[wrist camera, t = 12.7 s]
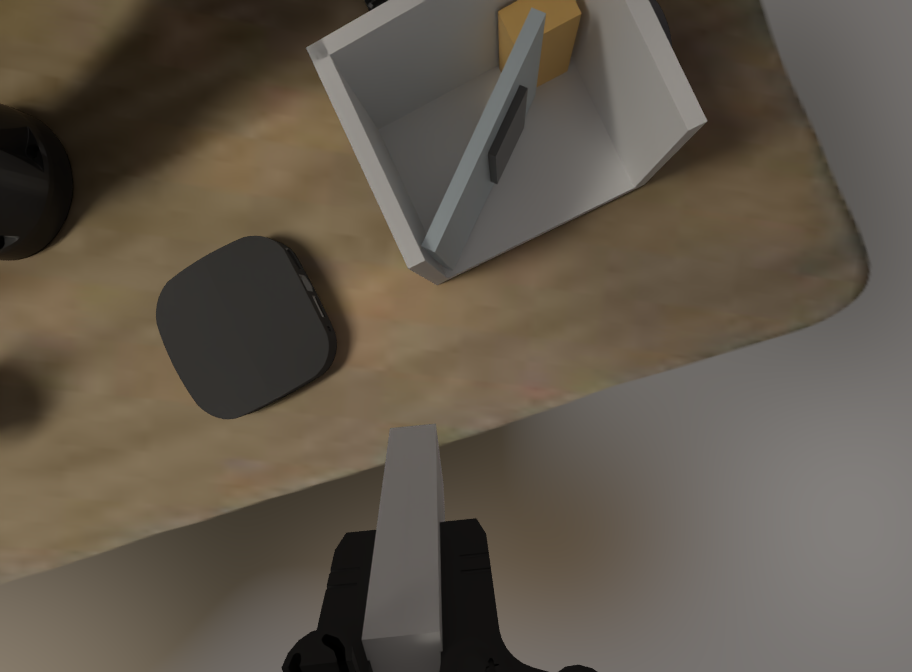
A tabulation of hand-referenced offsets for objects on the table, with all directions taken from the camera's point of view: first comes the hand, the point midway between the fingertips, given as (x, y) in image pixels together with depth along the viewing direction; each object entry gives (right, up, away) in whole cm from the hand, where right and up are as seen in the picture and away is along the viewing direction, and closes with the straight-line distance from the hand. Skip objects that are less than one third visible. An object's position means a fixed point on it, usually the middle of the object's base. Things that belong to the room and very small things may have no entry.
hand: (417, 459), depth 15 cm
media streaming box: (-18, +5, +28) cm, 34 cm away
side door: (+4, +17, +23) cm, 29 cm away
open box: (+5, +20, +25) cm, 32 cm away
